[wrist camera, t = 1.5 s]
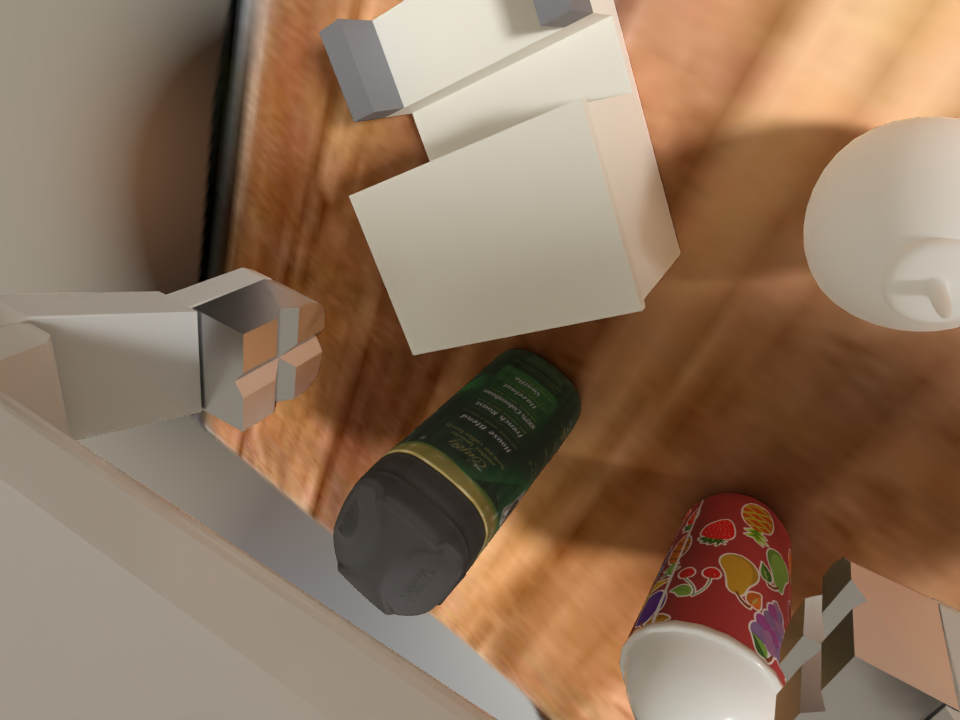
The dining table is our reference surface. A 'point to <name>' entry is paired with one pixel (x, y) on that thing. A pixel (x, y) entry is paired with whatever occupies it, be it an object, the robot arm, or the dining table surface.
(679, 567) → the smoothie
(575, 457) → the dining table surface
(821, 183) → the sauce bottle
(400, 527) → the coffee jar
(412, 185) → the cream armchair block
